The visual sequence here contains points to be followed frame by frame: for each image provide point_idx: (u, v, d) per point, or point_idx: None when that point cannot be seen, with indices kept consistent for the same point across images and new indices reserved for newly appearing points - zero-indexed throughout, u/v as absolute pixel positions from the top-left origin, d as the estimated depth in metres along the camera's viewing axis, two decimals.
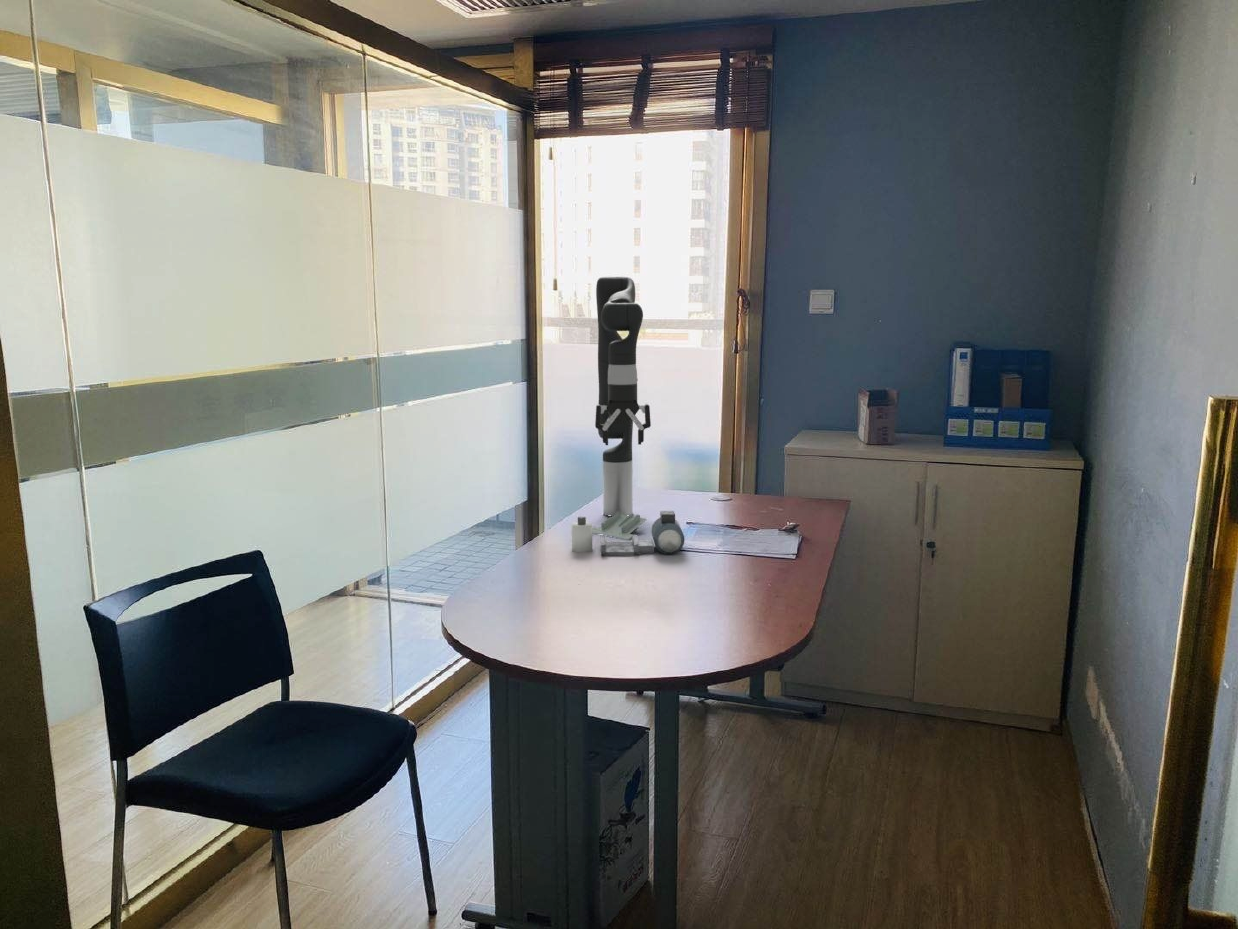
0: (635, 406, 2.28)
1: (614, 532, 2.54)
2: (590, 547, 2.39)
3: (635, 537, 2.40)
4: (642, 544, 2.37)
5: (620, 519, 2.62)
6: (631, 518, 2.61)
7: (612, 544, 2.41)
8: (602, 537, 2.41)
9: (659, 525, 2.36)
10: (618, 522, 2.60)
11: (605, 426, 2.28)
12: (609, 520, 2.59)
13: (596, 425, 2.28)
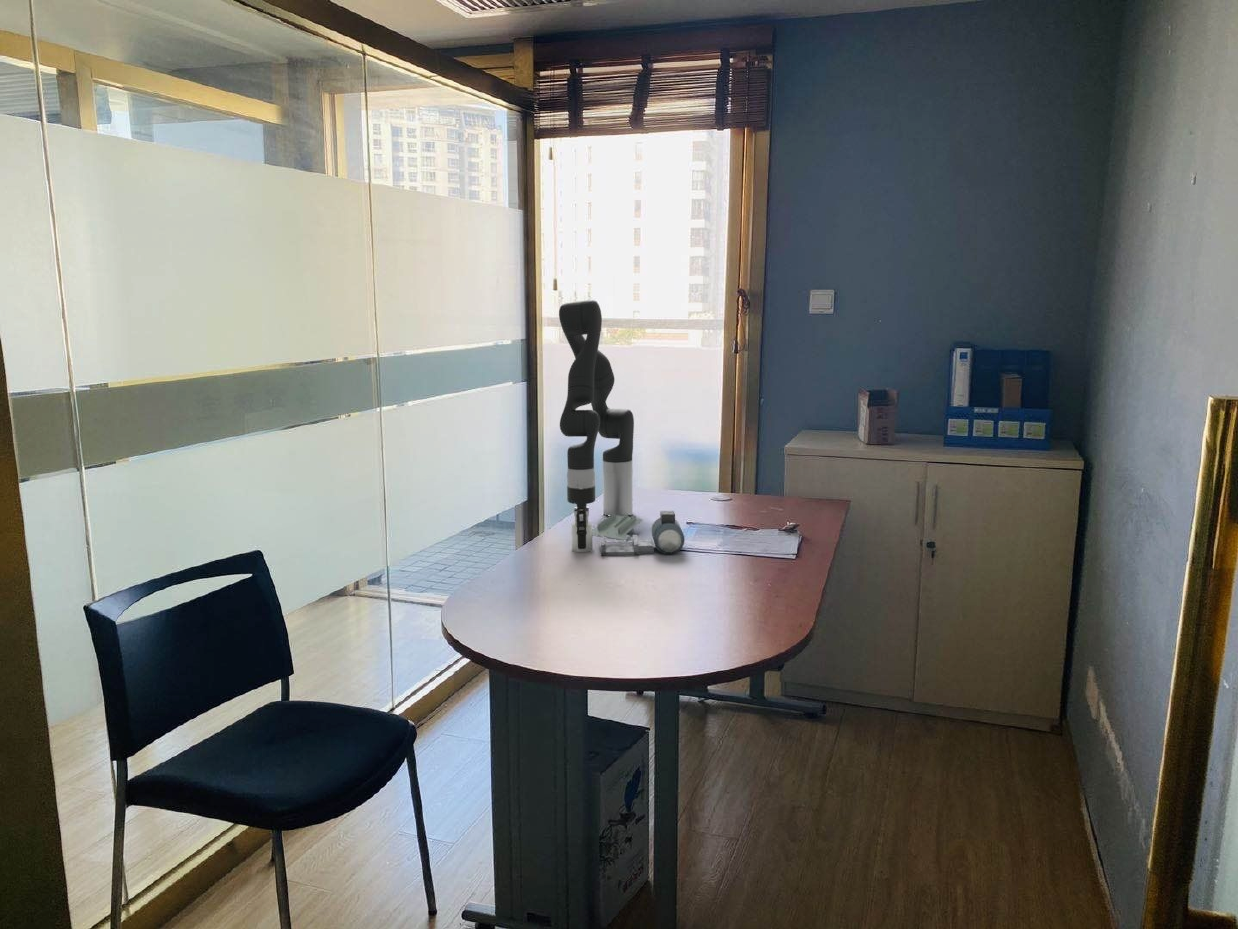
0: None
1: (610, 533, 2.54)
2: (590, 546, 2.39)
3: (635, 537, 2.40)
4: (642, 544, 2.37)
5: (616, 520, 2.61)
6: (627, 519, 2.60)
7: (612, 544, 2.41)
8: (602, 537, 2.41)
9: (659, 525, 2.36)
10: (614, 523, 2.59)
11: None
12: (605, 521, 2.58)
13: (586, 532, 2.34)
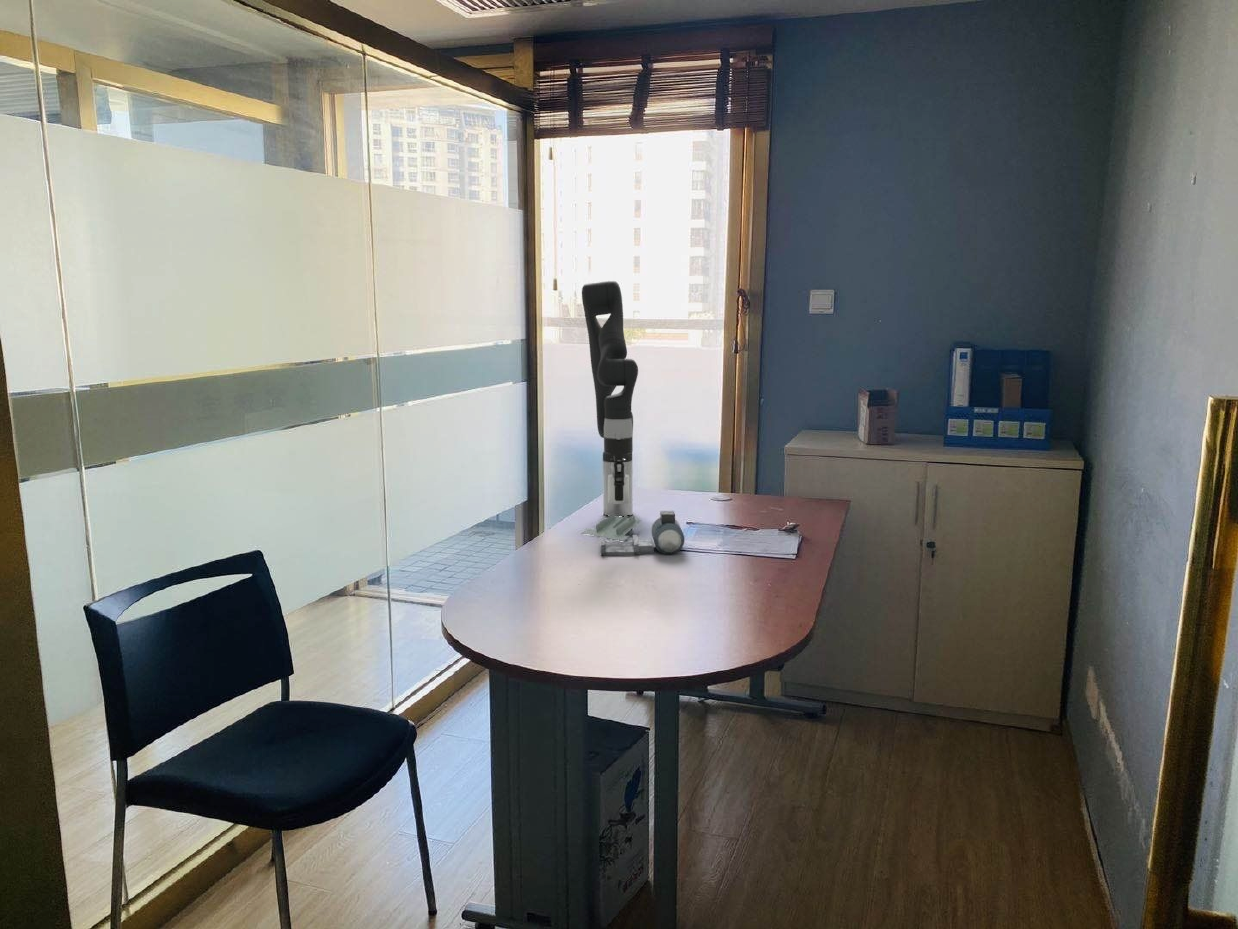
0: None
1: (609, 534, 2.53)
2: (626, 499, 2.35)
3: (635, 537, 2.40)
4: (642, 544, 2.37)
5: (614, 520, 2.60)
6: (626, 519, 2.59)
7: (612, 544, 2.41)
8: (602, 537, 2.41)
9: (659, 525, 2.36)
10: (612, 523, 2.58)
11: None
12: (603, 521, 2.58)
13: (623, 482, 2.30)
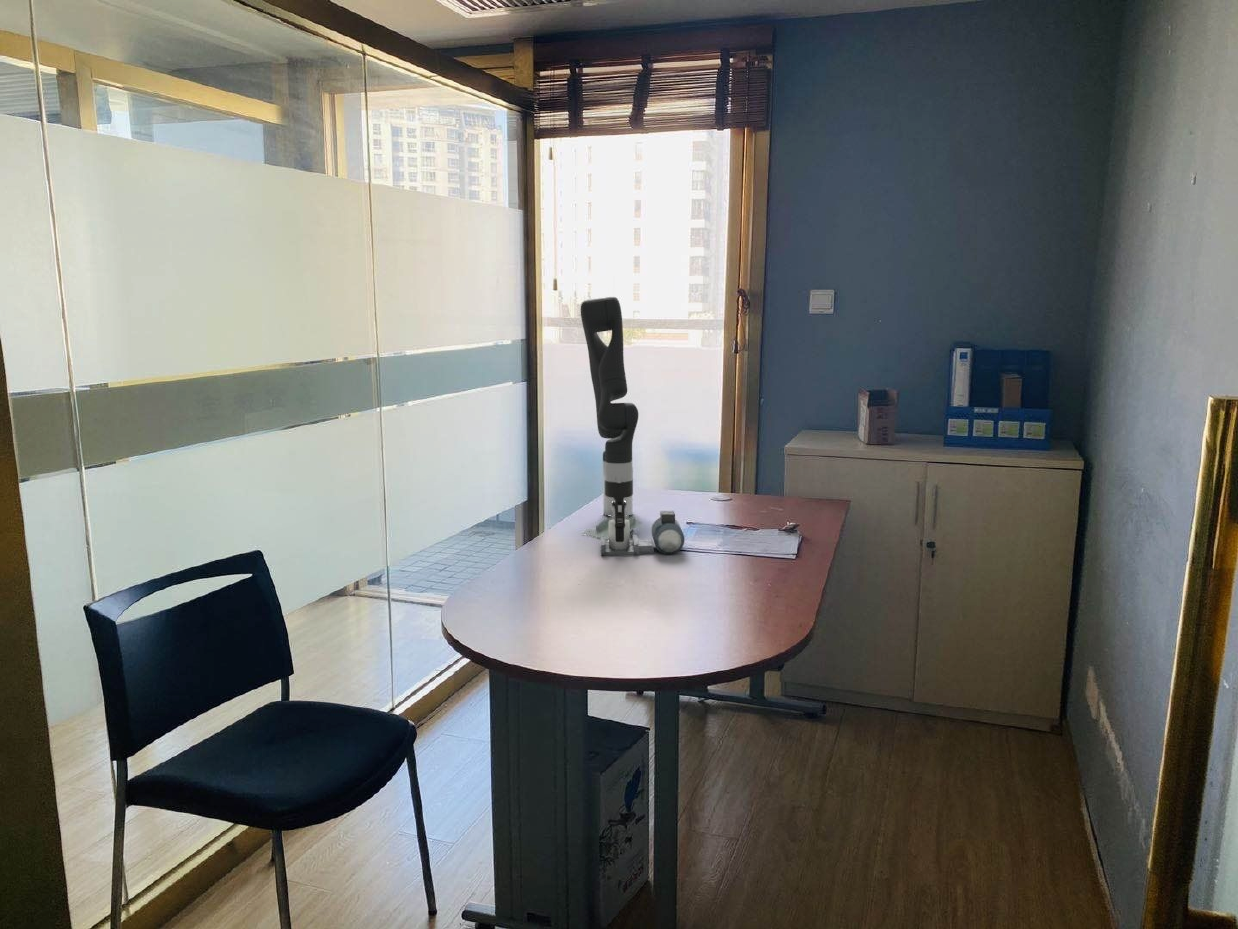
0: None
1: (608, 535, 2.52)
2: (627, 544, 2.37)
3: (635, 537, 2.40)
4: (642, 544, 2.37)
5: None
6: None
7: None
8: (602, 537, 2.41)
9: (659, 525, 2.36)
10: None
11: None
12: (604, 522, 2.56)
13: (624, 524, 2.31)
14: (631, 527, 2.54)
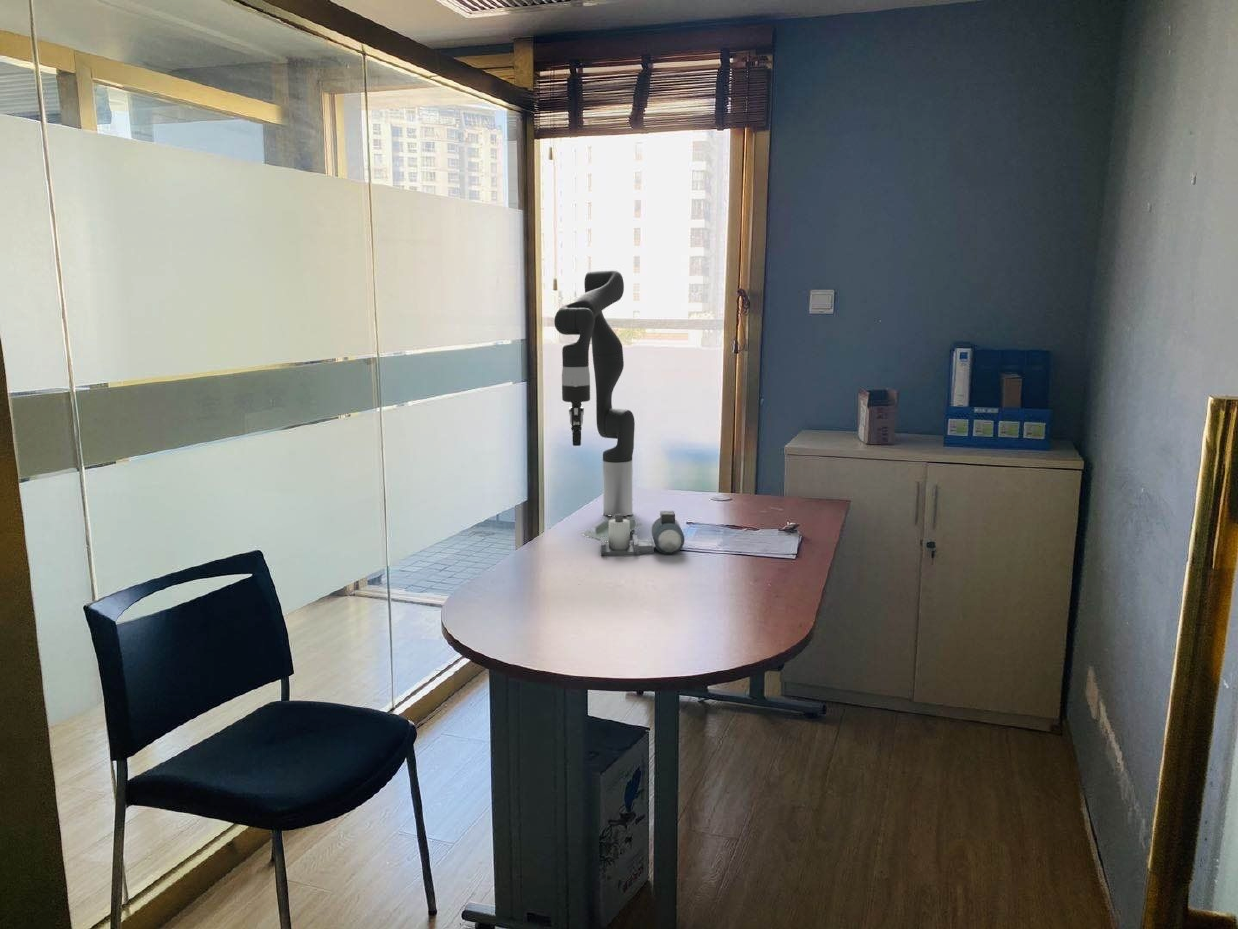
0: None
1: (606, 536, 2.50)
2: (627, 544, 2.37)
3: (635, 537, 2.40)
4: (642, 544, 2.37)
5: None
6: None
7: None
8: (602, 537, 2.41)
9: (659, 525, 2.36)
10: None
11: None
12: (604, 523, 2.55)
13: (580, 427, 2.34)
14: (630, 528, 2.52)
